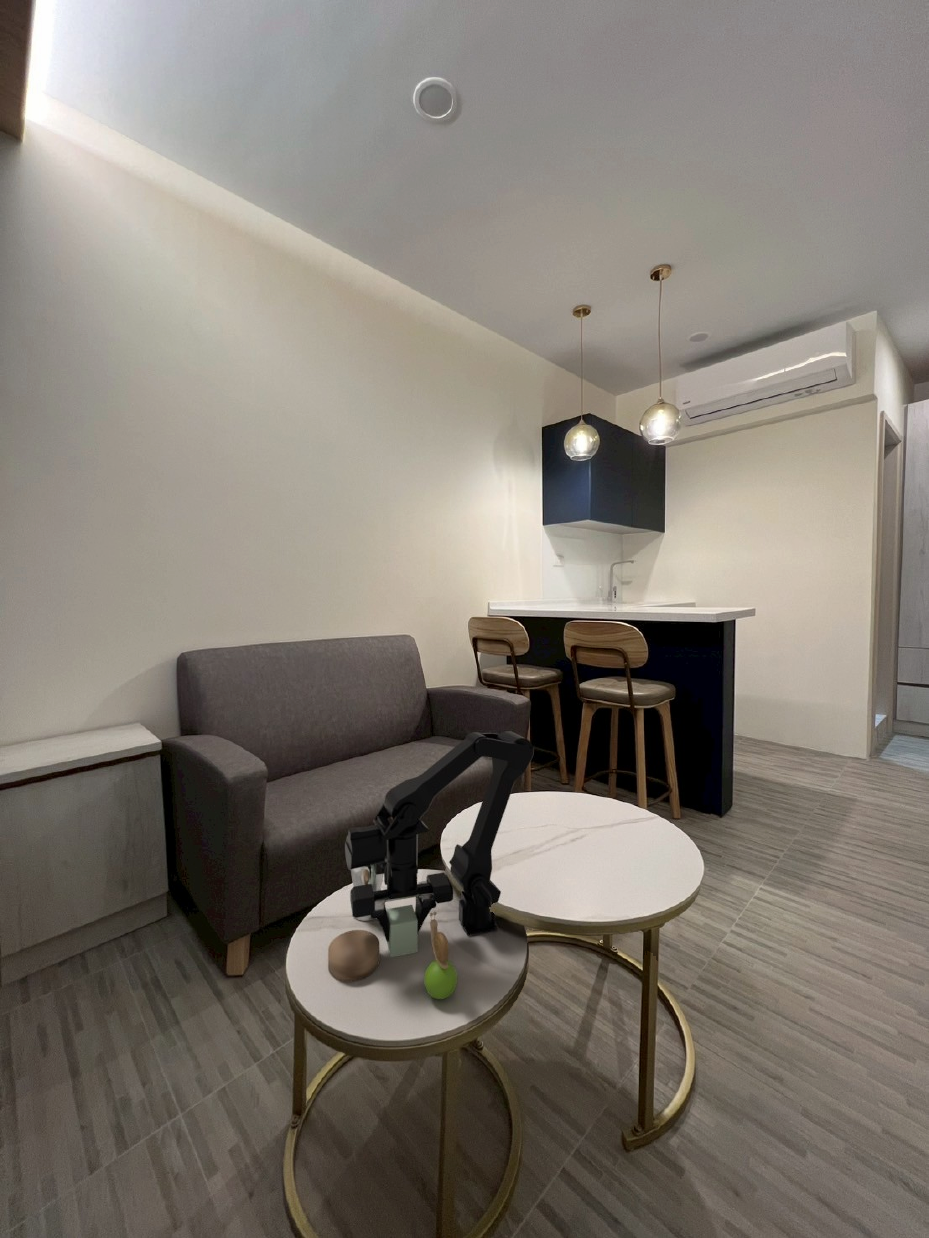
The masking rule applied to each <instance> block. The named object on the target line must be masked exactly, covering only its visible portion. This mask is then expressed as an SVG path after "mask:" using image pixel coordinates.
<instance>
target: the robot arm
mask: <svg viewBox="0 0 929 1238" xmlns="http://www.w3.org/2000/svg"><path fill="white" fill-rule="evenodd" d="M534 752H535V748H534V746H533V744H532V742H531V741H530V740H529V739H527V738H526V737H523V736H522V735H520V734H518V733H515V732H513V731H509V730H506V731H503V732H501V733H495V732H493V733H492V732H482V733H481V732H477V731H473V732H469V733H468V734H467V735H466V736H465V739H463V740H462V741H461V742H459V743H458V744H457V745H456V746H454V747H453V748H451V750H450V751H448V752H447V753H446V754H445V755H444V756H442V757H441V758H439V760H437V761H436V762H435V763H433V764H432V765H431V766H430V767H428V769H426V770H425V771H424V772H423V773H421V774H420V775H418V776H415V777H412V778H409V779H405V780H404V781H402V782H400V783H398V784H396V786H393V787H392V788H390V790H388V792H386V794H385V796H384V802H383V803H382V804H383V805H382V806H381V807H380V808H379V810H378V811H377V813H376V814H375V816H374V818H373V819H372V821H373V823H374V824H373V825H369V826H362V827H351V828H348V830H347V833H348V834H347V835H346V839H345V841H344V854H345V860H346V865H347V869H348V870H349V871H351V869H355V868H360V867H365V866H370V865H374V868H375V873H376V875H378V874H383V883H384V885H385V886H386V889H381V890H380V891H374V892H373V888H372V884H367V885H360V886H353V887H352V888H351V889H350V894H349V895H350V896H349V898H350V908H351V909H350V910H351V914H352V915H351V916H352V917H353V918H354V917H355V918H354V919H356V918H358V917H364V916H369V915H370V916H371V918H372V919H374V920H377V922H378V923H379V925H380V927H381V929H382V931H383V935H384V937H385V941H386V943H387V942H389V927H388V917H387V908H386V903H389V902H393V901H400V900H405V899H411V898H415V906H414V907H415V908H414V912H415V914H416V917H417V920H418V925H417V936H418V935H419V933H420V931H421V928H422V926H423V924H424V922H425V920H426V918H427V917H428V916H429V915H430V913H431V910H432V909H435V908H437V904H442V903H448V902H449V903H450V902H452V901H453V900H454V887H453V885H452V883H451V881H450V879H449V877H448V875H447V873H445V872H437V873H432V874H427V875H426V879H425V880H424V881H419V882H418V873H419V868H418V867H419V866H418V856H419V855H418V847H419V845H418V842H419V841H418V838H419V835H420V834H424V833H428V832H429V830H430V829H429V827H428V826H427V825H426V824H425V822H423V820H421V818H422V817H423V816H424V815H425V814H426V813H427V812H428V811H429V809H430V807H431V805H432V803H433V800H434V799H435V798H436V796H437V795H438V794H439V793H441V792H442V790H444V789H446V787H447V786H449V785H450V784H451V783H452V782H453V781H455V780H456V779H457V778H458V777H460V776H461V775H462V774H463V773H464V772H465V771H467V770H468V769H469V768H470V767H471V766H473V765H474V764H475V763H476V762H477V761H479V760H480V759H481V758H482V757H483V758H484V757H486V758H491V762H492V763H491V764H492V773H491V776H490V779H489V782H488V785H487V788H486V790H485V793H484V796H483V799H482V802H481V805H480V808H479V810H478V813H477V817H476V818H475V822H474V824H473V827H472V831H471V833H470V836H469V838H468V840H467V841H466V842H464V844H462V845H460V844H455V847H454V852H453V855H452V857H451V858H450V860H449V862H448V863H449V864H450V868H449V869H450V872H449V873H450V874H451V876H452V878H453V880H454V881H455V883H457V885H458V886H459V888H460V889H462V890H461V899H459V900H458V921H459V923H460V926H461V927H462V928H463V929H464V931H465V934H466V935H467V936H475V935H480V934H483V933H488V932H495V931H498V930H499V926H498V924H497V922H496V913H495V914H494V913H493V912H490V909H489V907H491V905H492V904H493V903H495V904H496V903H498V902H499V900H500V897H501V894H502V892H501V890H500V889H499V887H497V885H496V884H495V883H494V882H493V881H492V880H491V877H492V872H493V859H492V856H493V855H492V851H493V850H492V849H493V846H494V843H495V840H496V838H497V835H498V831H499V829H500V826H501V823H502V820H503V817H504V815H505V812H506V808H507V806H508V802H509V800H510V797H511V795H512V791H513V788H514V785H515V783H516V781H517V780H518V779H519V778H520V777H521V776H522V775H523V774H524V773H525V772H526V771H527V769H528V767H529V765H530V763H531V761H532V760H533V757H534V754H535V753H534ZM390 818H391V820H392V821H391V822H390V820H388V819H390Z"/></svg>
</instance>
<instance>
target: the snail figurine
mask: <svg viewBox="0 0 929 1238" xmlns="http://www.w3.org/2000/svg"><path fill="white" fill-rule="evenodd" d="M436 915H437V912H436V911H433V912H429V916H430V917H433V916H434V919H430V923H429V925H430V939H431V946H432V952H433V955H434V957H435V960H433V961H432V962H431V963H430V964H429V965H428V966H427V968H426V970H425V973H424V977H423V978H424V979H423V981H424V986H425V989H426V991H427V993H428V994H429V995H430V996H431V998H434V999H436V1000H443V999H446V998H448V997H450V996H451V995H452V994H453V993H454V991H455V989H456V987H457V985H458V974H457V970H456V968H455V966H454V965H453V963H452V962H450V961H449V958H450V949H449V948H450V947H449V943H448V939H447V937H446V935H445V934H444V933H443V932H442V931H438V927H439V926H438V925H439V924H438V923H439V922H438V921H437V920H436Z"/></svg>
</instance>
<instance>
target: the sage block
mask: <svg viewBox="0 0 929 1238" xmlns="http://www.w3.org/2000/svg"><path fill="white" fill-rule="evenodd" d="M386 911H387V917H388V927H389V942H387V941H386V944H387V948H388V952H389V953H388V954H389V956H390V958H393V957H398V956H402V955H403V956H404V955H410V954H413V953H417V952H418V935H417V925H418V920H417V917H416V914H415V908H414V906H413V904H407V905H404V906H396V907H392V908H386Z"/></svg>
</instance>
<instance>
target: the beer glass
mask: <svg viewBox="0 0 929 1238" xmlns="http://www.w3.org/2000/svg"><path fill="white" fill-rule="evenodd" d="M350 872H351V873H350V874H351V879H352V885H353V887H354V886H360V885H367V884H372V888H373V892H374V891H380V890H382V883H383V881H384V874H378V875H376V873H375V868H374V865H370V866H365V867H360V868H355V869H351V870H350ZM353 918H354V919H356V920H358V921H359V922H369V921H373V920H375V919H372V918H371V916H370V915H369V916H364V917H358V918H355V917H353Z"/></svg>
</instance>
